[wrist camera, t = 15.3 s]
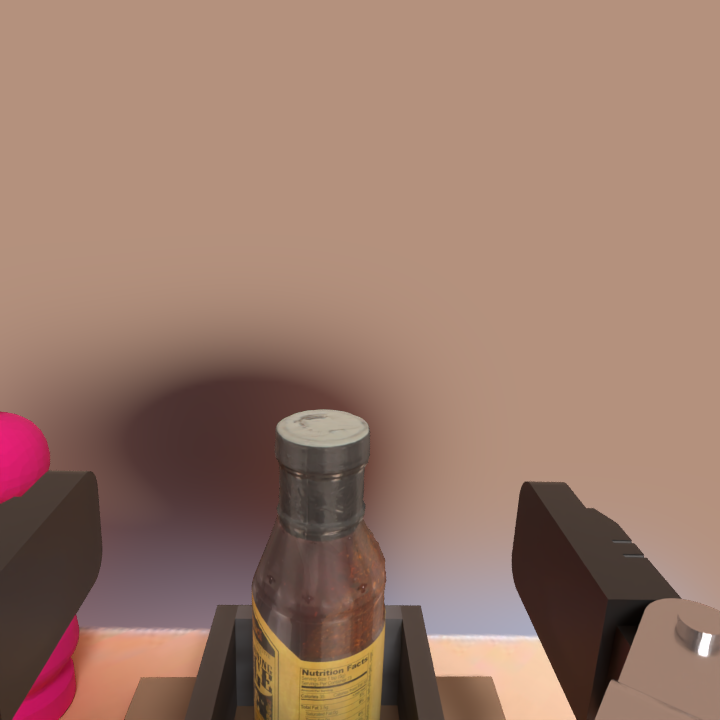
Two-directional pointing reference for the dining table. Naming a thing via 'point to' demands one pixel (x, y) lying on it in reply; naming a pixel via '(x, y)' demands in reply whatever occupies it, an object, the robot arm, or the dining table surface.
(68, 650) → the pepper mill
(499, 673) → the dining table surface
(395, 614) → the bottle caddy
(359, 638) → the sauce bottle
